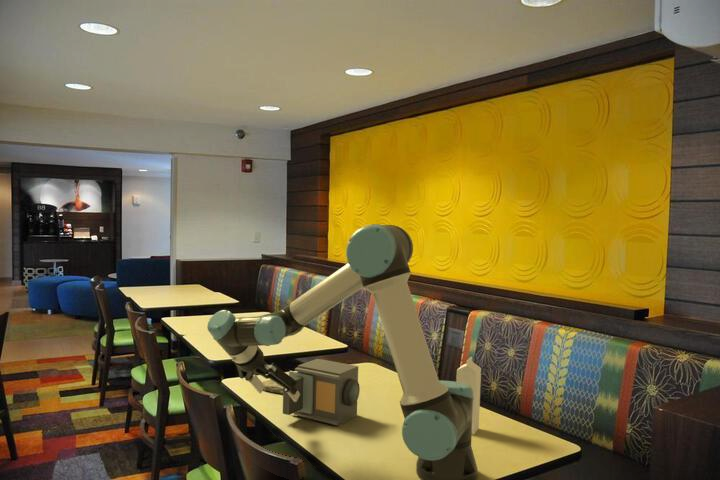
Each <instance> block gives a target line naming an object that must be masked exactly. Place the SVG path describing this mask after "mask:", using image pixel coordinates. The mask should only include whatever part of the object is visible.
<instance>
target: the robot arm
mask: <svg viewBox="0 0 720 480" xmlns="http://www.w3.org/2000/svg"><path fill="white" fill-rule="evenodd" d="M413 253H414V243H413V240H412V237H411V236H410V234H409V233H408V232H407V231H406V230H405V229H403V228H402V227H401V226H398V225H396V224H395V225H393V224H378V223H377V224H376V223H374V224H373V223H372V224H369V225H364V226H362V227H360V228H358V229H357V230H355V232H353V233H352V235H351V236H350V238H349V240H348V241H347V245H346V250H345V254H346V255H345V257H346V260H347V263H346V264H345V265H343V266H342V267H340V268H339V269H337V270H336V271H334V272H333V273H332V274H330V275H329V276H327V277H326V278H324V279H323V280H322V281H321V282H319V283H317V284H316V285H314V286H313V287H312V288H310V289H308V290H307V291H306V292H304V293H303V294H301V295H300V296H298V297H297V298H295V299H294V300H293V301H291V302H290V303H289V304H287V305H286V306H285V307H283V308H281V309H280V310H276V311H273V312H271V313H270V312H269V313H266V314H263V315H258V316H257V315H256V316H246V317H244V316H243V317H242V316H241V317H240V316H239V317H236V316H235V314H234V313H232V312H231V311H230V310H227V309H222V310H219V311H217V312H215V313H214V314H212V316H211V317H210V318H209V321H207V331H208V332H209V334H210V335H211V336H212V339H213V340H214V341H215V342H216V343H217V344H218V345H219V346H220V347H221V348H222V349H223V351H225V352H226V353H227V355H228V356H229V357H230V358H231V361H232V362H234V364H235V366H236V369H237V371H238V372H237V373H238V377H239V378H240V379H243V380H244V379H245V381H246V382H248V383H250V384H251V386H252V387H253V388H254V389H255V391H256V392H257V393H258V394H262V393H263V392H264V391H263V389H264V387H265V385H264V384H263V381H262V380H261V379H260V378H259V377H258V376H261V377H263V378H264V379H266V380H268V379H269V380H273V381H274V382H276V383H277V384H279V385H281V386H282V387H284V388H285V391H286V392H287V393H288V395H289V396H290V397H291V398H292V399H293V401H294V402H297V400H298V398H299V396H300V393H299V392H298V390H297V389H296V388H295V386H296V384H297V381H295V380H294V379H293V378H292V377H290V376H289V373H286V372H285V371H284V370H283V369H281V368H280V367H279V366H278V365H277V364H276V363H275V362H271V364H269V363H268V362H266V361H265V355H264V351H263V350H262V349H261V348H260V347H261V346H262V347H263V346H265V347H270V346H277V345H279V344H281V342H283V340H284V339H285V338H287V337H291V336H294V335H296V334H298V333H300V332H302V331H303V329H304V328H305V326H307V325H308V324H310V323H312V322H313V321H314V320H317V318H319V317H320V316H322V315H324V314H325V313H327V312H328V311H329V310H331V309H332V308H334V307H335V306H337V305H338V304H339V303H342V302H344V301H345V300H346V299H348V298H349V297H351V296H352V295H354V294H355V293H357V292H358V291H360V290H361V289H362V288H363V289H365V290H366V291H368V292H370V293H371V295H372V297H373V300H374V304H375V307H376V309H377V313H378V316H379V320H380V323H381V326H382V329H383V332H384V336H385V339H386V343H387V345H388V348H389V350H390V355H391V357H392V361H393V364H394V367H395V370H396V373H397V376H398V380H399V382H400V385H401V389H402V392H403V393H402V396H401V398H400V400H399V405H400V408H401V411H402V415H403V418H404V421H403V423H402V427H401V428H402V429H401V435H402V440H403V442H404V445H405V446H406V448H407V449H408V450H409V451H410V452H411V453H412V454H413V455H414V456H416V457H417V460H416V468H415V469H416V470H415V472H416V475H417V476H418V478H420V480H478V471H479V470H478V466H477V463H476V462H477V460H476V458H475V454H474V452H473V448H472V447H473V446H472V436H473V435H472V412H473V400H474V398H473V390H472V388H471V387H470V386H469V385H467V384H464V383H459V382H456V381H454V380H440V379H439V376H438V374H437V371H436V368H435V365H434V361H433V358H432V355H431V351H430V349H429V347H428V342H427V340H426V336H425V333H424V329H423V328H422V324H421V321H420V318H419V315H418V312H417V308H416V306H415V303H414V300H413V299H414V298H413V295H412V293H411V291H410V290H411V289H410V287H409V284H408V280H409V278H410V277H411V274H412V272H411V269H410V265H409V263H410V261H411V259H412V257H413ZM267 372H268V373H267Z"/></svg>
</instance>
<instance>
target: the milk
mask: <svg viewBox="0 0 720 480" xmlns="http://www.w3.org/2000/svg"><path fill="white" fill-rule="evenodd" d="M481 375H482V367H480V366H479V365H477V364H476V363H475V362H474V361H473V356H470V357H469V358H468V359H467V360H466V363H464V364H462V365H461V366H460V367H458V368H457V369H456V380H455V382H459V383H464V384H467V385H469V386H470V387H471V388H472V390H473V398H474V400H473V412H472V436H474V435H475V434H476V433H477V431H478V430H479V429H480V428H479V427H480V407H481V405H480V404H481V383H482V380H481V379H482V376H481Z"/></svg>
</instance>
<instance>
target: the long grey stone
mask: <svg viewBox="0 0 720 480" xmlns="http://www.w3.org/2000/svg"><path fill="white" fill-rule="evenodd" d="M262 383H263V384H264V385H265V387H264V389H263V391H262V392H270V393H276V394H280V395H283V387H282V386H281V385H279V384H277V383H276V382H274V381H273V380H271V379H269V380H268V379H267V380H265V381H262Z"/></svg>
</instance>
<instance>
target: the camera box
mask: <svg viewBox="0 0 720 480" xmlns="http://www.w3.org/2000/svg"><path fill="white" fill-rule="evenodd" d="M294 372H299V373H304V374H309V375H314V378H313V413H312V414H309V413H305V412H301V411H297V412H295V413H293V416H294V415H295V416H298V417H301V418H306V419H310V420H314V421H318V422H320V423H321V422H322V423H327V424H329V425H333V426H337V427H339V426H340V425H342V424H345V423H346V422H347V421H350V420H351V419H353V418H356V416H358V399H359V396H360V390H361V387H360V384H359V366H358V365H355V364H354V365H353V364H349V363H343V362H339V361H332V360H327V359H322V358H321V359H320V358H316V359H312V360H310V361H307V362H304V363H301V364H299V365H297V367H295V368H294Z"/></svg>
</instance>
